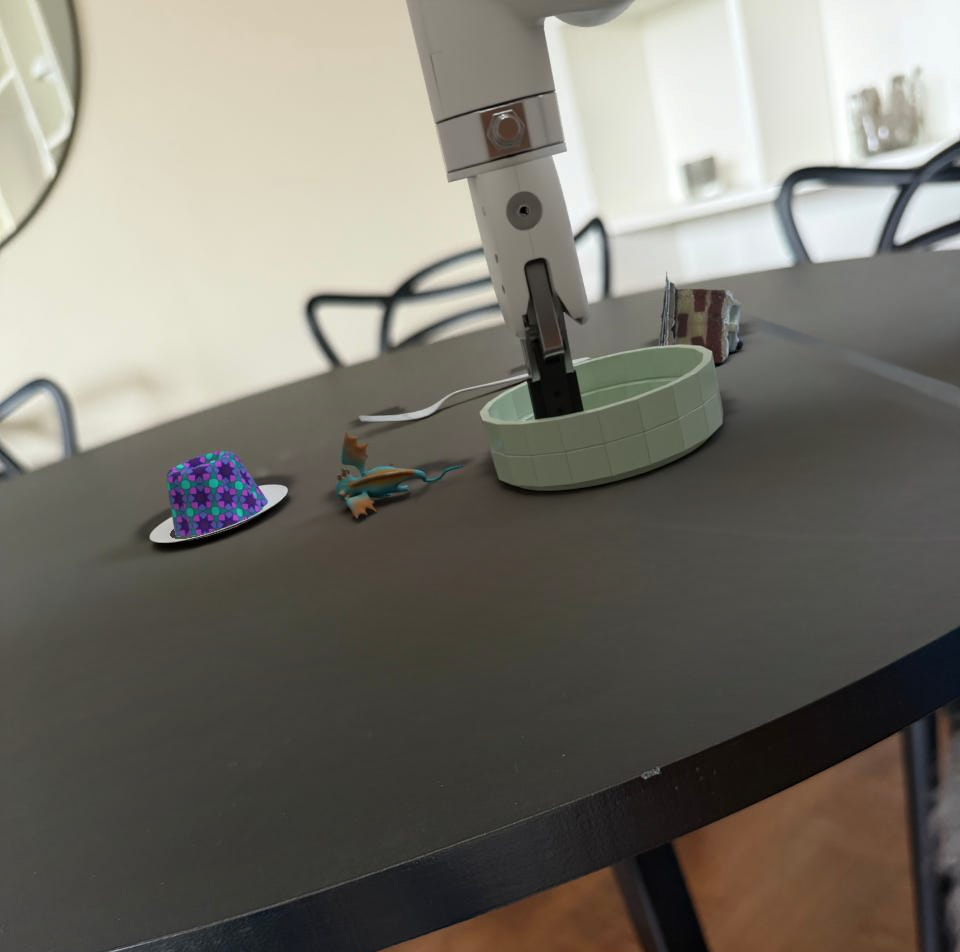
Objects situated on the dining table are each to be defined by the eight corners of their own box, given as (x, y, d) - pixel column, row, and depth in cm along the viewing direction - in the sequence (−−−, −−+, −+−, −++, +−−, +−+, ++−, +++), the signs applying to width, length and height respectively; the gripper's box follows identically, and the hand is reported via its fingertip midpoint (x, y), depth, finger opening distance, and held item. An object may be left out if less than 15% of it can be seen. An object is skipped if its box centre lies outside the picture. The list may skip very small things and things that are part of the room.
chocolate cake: (747, 369, 84) (752, 245, 87) (660, 365, 85) (668, 242, 88) (731, 426, 93) (736, 311, 96) (652, 422, 94) (660, 309, 97)
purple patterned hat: (319, 488, 86) (297, 429, 84) (218, 549, 78) (191, 485, 76) (226, 496, 94) (204, 442, 92) (124, 552, 85) (98, 494, 83)
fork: (595, 360, 103) (591, 342, 102) (367, 438, 100) (361, 420, 99) (584, 357, 105) (580, 340, 105) (362, 433, 102) (356, 415, 102)
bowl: (689, 397, 80) (676, 333, 78) (756, 443, 65) (743, 366, 63) (489, 456, 81) (472, 394, 78) (511, 516, 66) (490, 441, 64)
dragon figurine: (415, 456, 83) (322, 452, 79) (457, 423, 76) (358, 417, 72) (425, 535, 82) (331, 535, 78) (469, 508, 75) (369, 507, 71)
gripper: (581, 119, 56) (639, 444, 63) (545, 132, 69) (596, 398, 77) (447, 154, 56) (521, 474, 63) (438, 160, 69) (499, 423, 77)
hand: (562, 431), depth 70 cm, fingers closed
